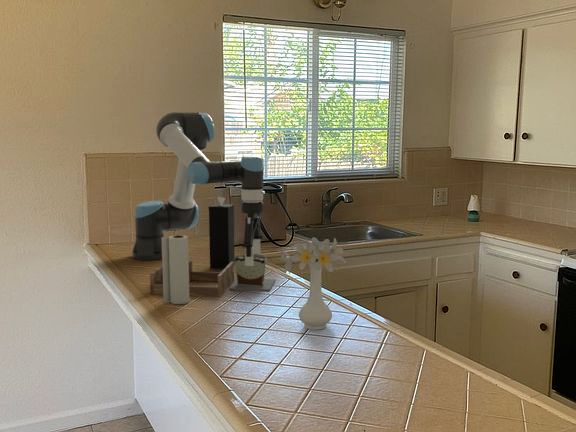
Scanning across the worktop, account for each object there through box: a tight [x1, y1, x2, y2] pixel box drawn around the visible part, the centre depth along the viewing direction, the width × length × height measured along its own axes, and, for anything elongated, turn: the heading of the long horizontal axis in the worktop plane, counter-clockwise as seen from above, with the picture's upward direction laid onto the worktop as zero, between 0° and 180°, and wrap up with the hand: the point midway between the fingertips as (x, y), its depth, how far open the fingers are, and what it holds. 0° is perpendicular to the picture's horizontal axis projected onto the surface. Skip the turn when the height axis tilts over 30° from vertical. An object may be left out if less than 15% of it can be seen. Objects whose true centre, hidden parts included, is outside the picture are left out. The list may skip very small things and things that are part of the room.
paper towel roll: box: [161, 234, 190, 305], centre depth 193 cm, size 7×6×21 cm
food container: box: [233, 253, 268, 287], centre depth 214 cm, size 12×6×10 cm, turn 71°
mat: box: [228, 278, 277, 292], centre depth 214 cm, size 14×14×1 cm
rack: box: [149, 259, 235, 297], centre depth 212 cm, size 21×24×7 cm
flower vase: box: [279, 236, 347, 331], centre depth 168 cm, size 13×18×25 cm
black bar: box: [208, 196, 235, 270], centre depth 239 cm, size 8×8×28 cm
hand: (252, 261), depth 213 cm, fingers open, 13 cm apart
